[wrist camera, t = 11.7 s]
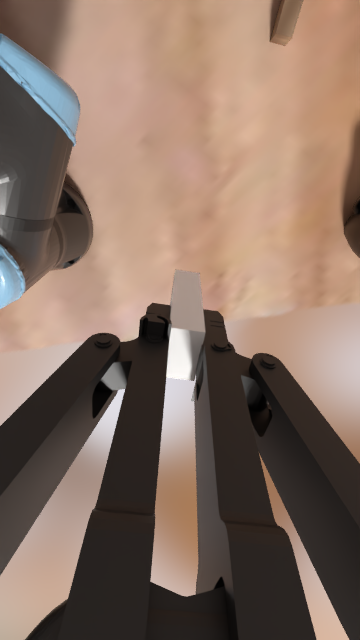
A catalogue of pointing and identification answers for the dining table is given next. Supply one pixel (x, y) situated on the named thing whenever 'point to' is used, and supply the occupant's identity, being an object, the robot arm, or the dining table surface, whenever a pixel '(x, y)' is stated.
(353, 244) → the mug
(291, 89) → the dining table surface
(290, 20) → the channel
